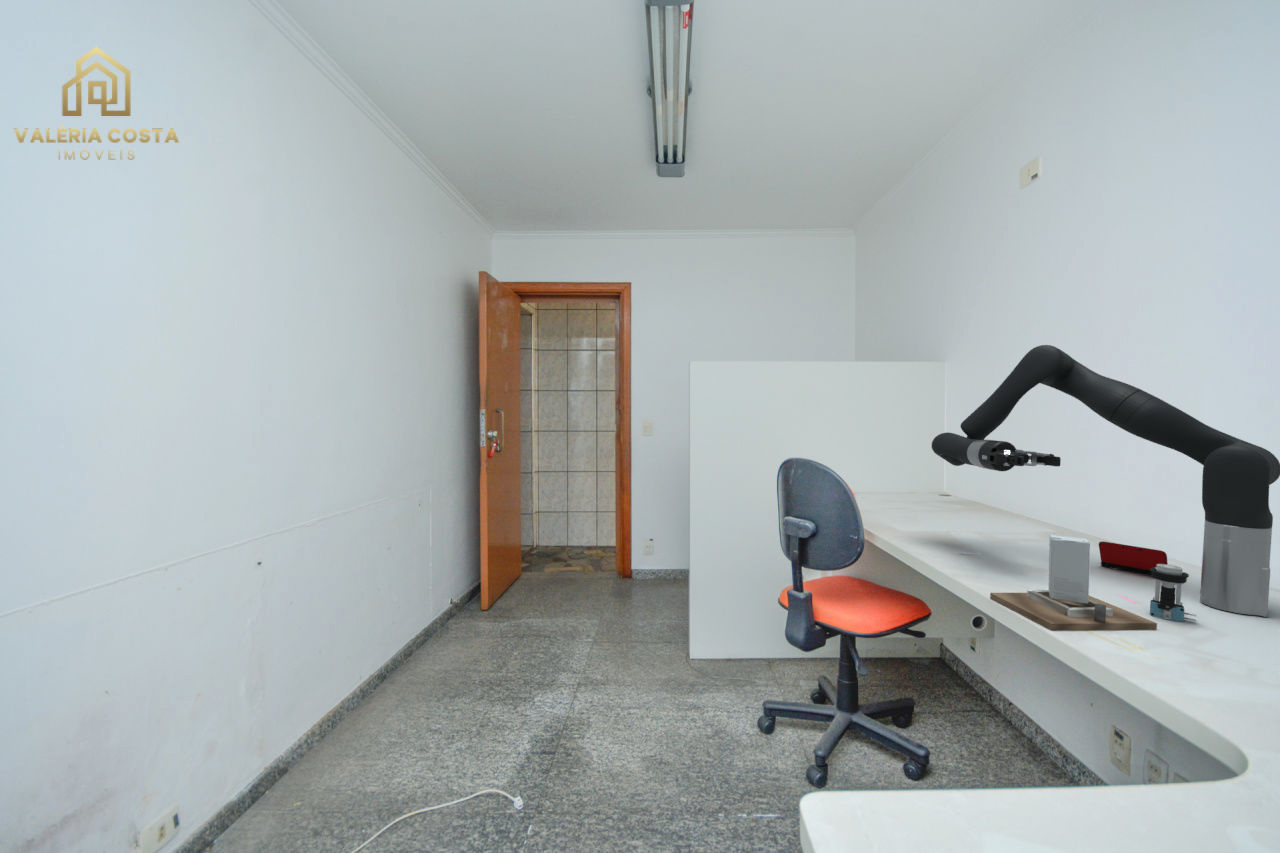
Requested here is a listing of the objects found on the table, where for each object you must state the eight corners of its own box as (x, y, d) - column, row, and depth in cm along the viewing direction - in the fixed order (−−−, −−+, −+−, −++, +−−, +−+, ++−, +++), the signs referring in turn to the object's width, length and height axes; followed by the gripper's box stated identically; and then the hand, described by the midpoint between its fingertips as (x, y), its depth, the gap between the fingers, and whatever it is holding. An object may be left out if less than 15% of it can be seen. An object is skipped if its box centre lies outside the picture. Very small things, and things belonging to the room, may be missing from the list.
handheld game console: (1174, 574, 133) (1175, 544, 133) (1164, 583, 127) (1166, 551, 126) (1108, 562, 143) (1109, 534, 143) (1096, 569, 137) (1098, 540, 136)
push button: (1194, 619, 104) (1198, 568, 104) (1197, 627, 100) (1200, 574, 100) (1147, 610, 109) (1150, 560, 108) (1147, 617, 105) (1150, 566, 104)
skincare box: (1085, 598, 107) (1088, 537, 106) (1088, 605, 103) (1092, 542, 103) (1046, 592, 110) (1049, 533, 110) (1048, 599, 106) (1051, 538, 106)
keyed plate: (1081, 598, 115) (1082, 578, 115) (1156, 629, 99) (1157, 606, 99) (990, 598, 114) (991, 578, 114) (1051, 630, 98) (1052, 607, 98)
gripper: (965, 439, 139) (1011, 444, 123) (1018, 440, 139) (1072, 445, 123) (963, 469, 139) (1010, 477, 123) (1017, 469, 140) (1070, 478, 124)
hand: (1041, 461), depth 123 cm, fingers open, 8 cm apart
